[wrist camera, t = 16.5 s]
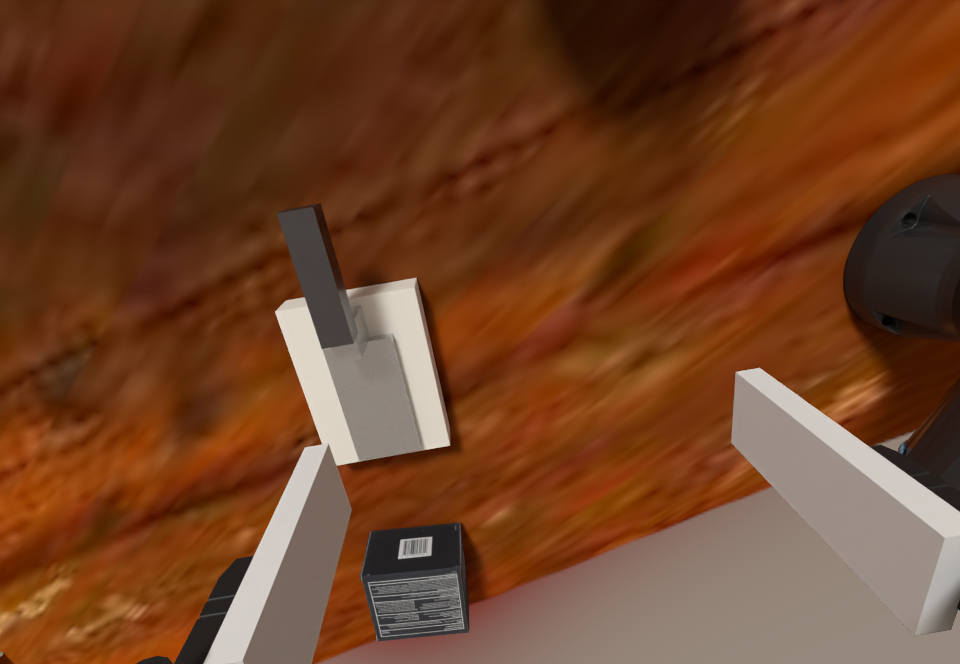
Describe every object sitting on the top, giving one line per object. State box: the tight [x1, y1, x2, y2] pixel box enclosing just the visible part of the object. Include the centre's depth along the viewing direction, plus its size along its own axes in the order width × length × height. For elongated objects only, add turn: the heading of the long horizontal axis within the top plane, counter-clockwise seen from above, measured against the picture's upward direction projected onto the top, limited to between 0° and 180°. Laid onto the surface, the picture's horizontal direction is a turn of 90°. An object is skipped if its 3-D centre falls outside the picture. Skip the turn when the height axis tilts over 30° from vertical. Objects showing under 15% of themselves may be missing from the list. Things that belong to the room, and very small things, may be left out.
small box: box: [360, 523, 469, 641], centre depth 52 cm, size 11×6×10 cm
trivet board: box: [275, 278, 450, 466], centre depth 43 cm, size 16×12×3 cm
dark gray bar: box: [277, 203, 421, 461], centre depth 38 cm, size 24×6×6 cm, turn 9°
